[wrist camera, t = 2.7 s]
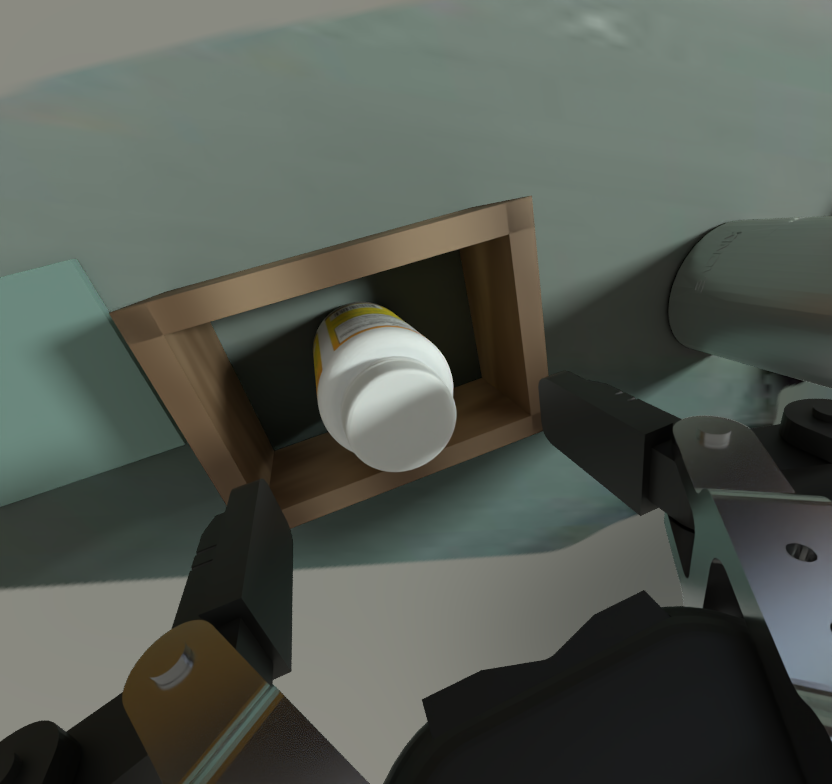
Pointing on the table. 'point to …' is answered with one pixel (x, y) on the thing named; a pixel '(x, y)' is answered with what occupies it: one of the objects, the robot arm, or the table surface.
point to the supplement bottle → (382, 388)
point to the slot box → (238, 292)
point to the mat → (69, 386)
